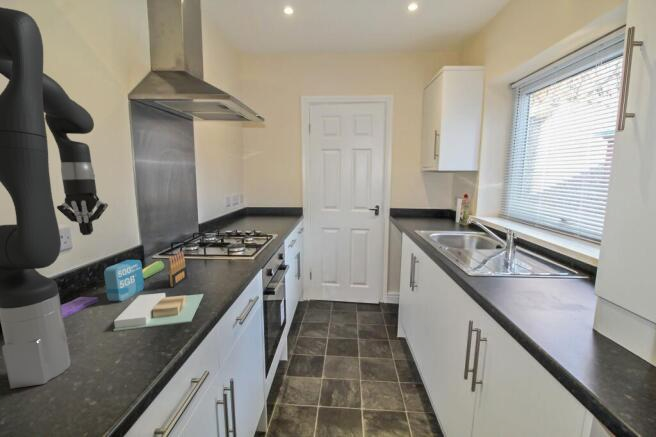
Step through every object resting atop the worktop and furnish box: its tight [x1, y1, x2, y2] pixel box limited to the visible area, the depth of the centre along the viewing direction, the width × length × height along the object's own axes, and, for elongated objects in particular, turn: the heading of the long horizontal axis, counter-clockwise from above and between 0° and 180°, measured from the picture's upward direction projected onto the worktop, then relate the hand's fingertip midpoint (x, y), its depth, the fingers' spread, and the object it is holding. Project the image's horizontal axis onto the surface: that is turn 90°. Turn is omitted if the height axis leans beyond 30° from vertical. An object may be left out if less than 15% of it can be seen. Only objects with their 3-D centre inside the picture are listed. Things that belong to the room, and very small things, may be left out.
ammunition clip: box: [167, 250, 189, 289], centre depth 118 cm, size 11×2×12 cm, turn 179°
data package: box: [103, 259, 145, 302], centre depth 106 cm, size 12×4×12 cm, turn 174°
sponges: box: [61, 296, 99, 318], centre depth 97 cm, size 7×13×2 cm, turn 171°
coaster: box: [153, 294, 187, 317], centre depth 94 cm, size 9×7×2 cm
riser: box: [113, 292, 167, 329], centre depth 93 cm, size 18×8×2 cm, turn 13°
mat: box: [113, 293, 204, 332], centre depth 94 cm, size 20×20×1 cm
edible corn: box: [142, 259, 165, 281], centre depth 128 cm, size 5×20×5 cm, turn 2°
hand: (87, 234), depth 92 cm, fingers closed
